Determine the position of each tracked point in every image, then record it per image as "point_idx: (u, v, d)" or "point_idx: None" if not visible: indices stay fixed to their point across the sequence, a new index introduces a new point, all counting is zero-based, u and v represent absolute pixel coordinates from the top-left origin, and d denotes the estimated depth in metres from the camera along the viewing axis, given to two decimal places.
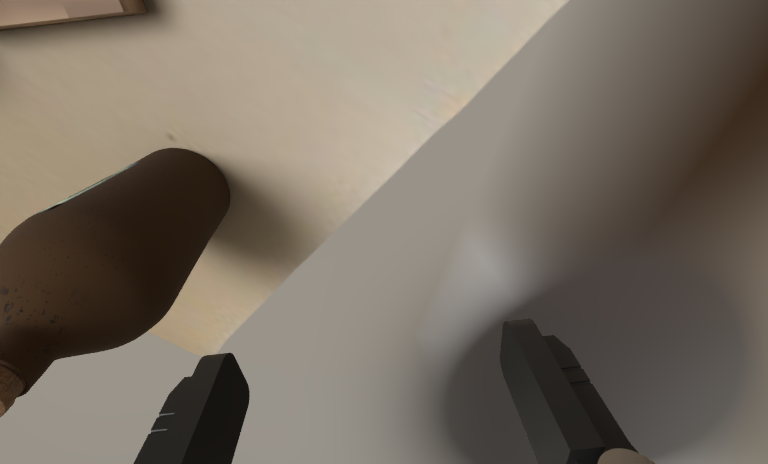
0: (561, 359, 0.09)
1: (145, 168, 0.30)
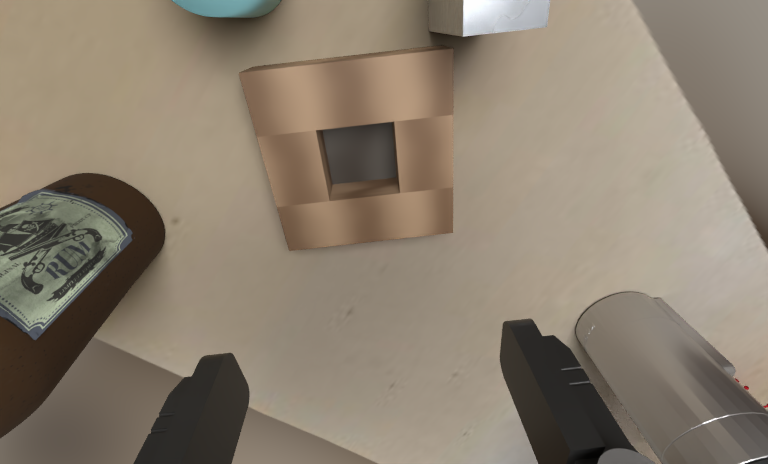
0: (561, 359, 0.09)
1: (127, 269, 0.27)
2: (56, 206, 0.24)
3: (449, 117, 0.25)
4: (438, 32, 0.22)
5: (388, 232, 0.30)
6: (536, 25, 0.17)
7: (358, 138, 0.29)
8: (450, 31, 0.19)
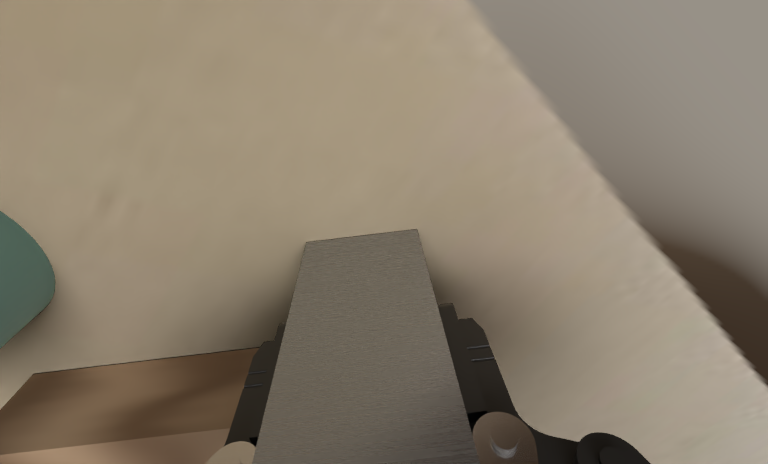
0: (473, 339, 0.10)
1: None
2: None
3: None
4: None
5: None
6: None
7: None
8: None
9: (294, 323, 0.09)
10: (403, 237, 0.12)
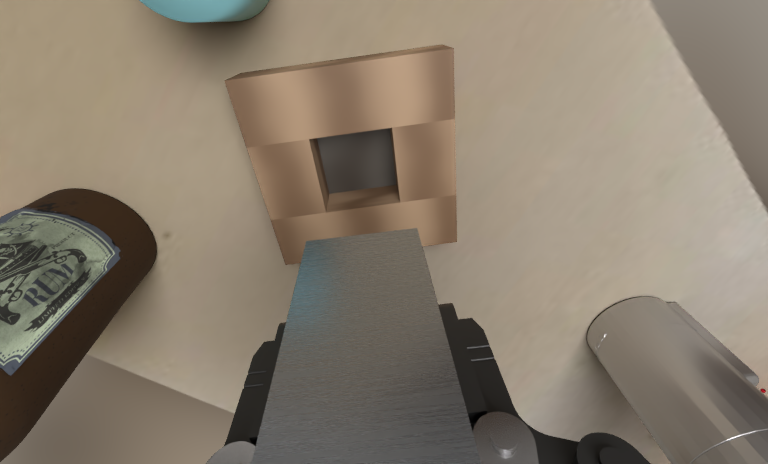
0: (473, 339, 0.10)
1: (115, 289, 0.25)
2: (37, 226, 0.23)
3: (450, 121, 0.24)
4: None
5: None
6: None
7: (355, 145, 0.27)
8: None
9: (294, 321, 0.09)
10: (403, 236, 0.12)
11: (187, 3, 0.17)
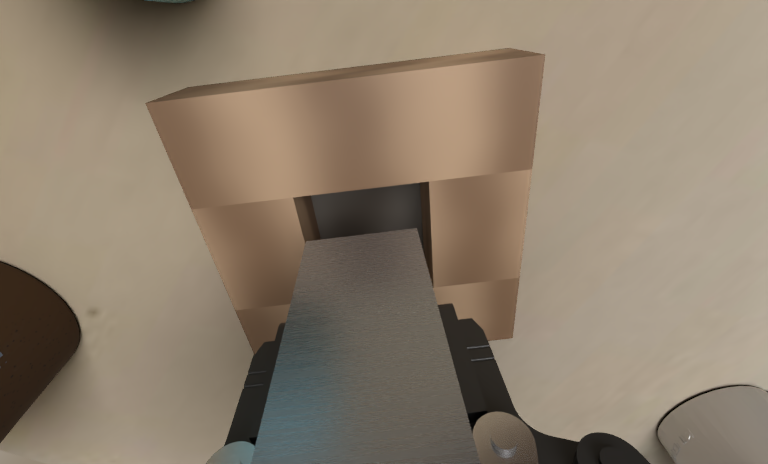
0: (473, 339, 0.10)
1: None
2: None
3: (525, 173, 0.14)
4: None
5: None
6: None
7: (366, 196, 0.18)
8: None
9: (293, 321, 0.09)
10: (403, 236, 0.12)
11: None
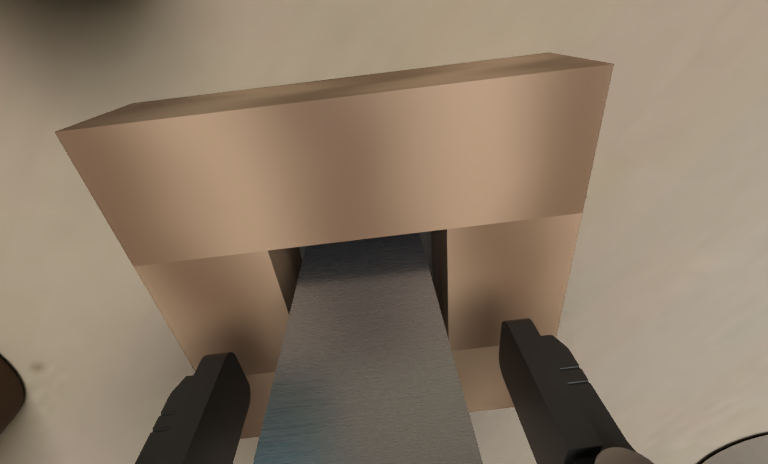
0: (559, 358, 0.09)
1: None
2: None
3: (572, 218, 0.11)
4: None
5: None
6: None
7: None
8: None
9: (304, 279, 0.11)
10: None
11: None
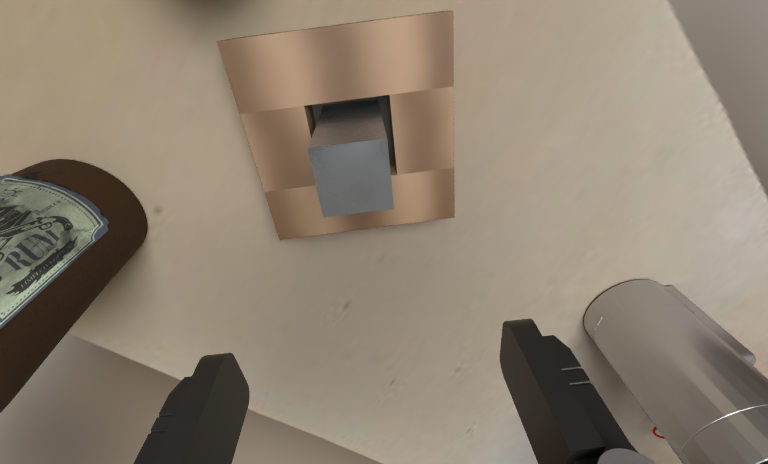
0: (561, 359, 0.09)
1: (103, 261, 0.25)
2: (21, 192, 0.22)
3: (449, 89, 0.23)
4: None
5: (385, 218, 0.28)
6: (384, 208, 0.20)
7: None
8: None
9: (321, 117, 0.23)
10: (370, 100, 0.26)
11: None
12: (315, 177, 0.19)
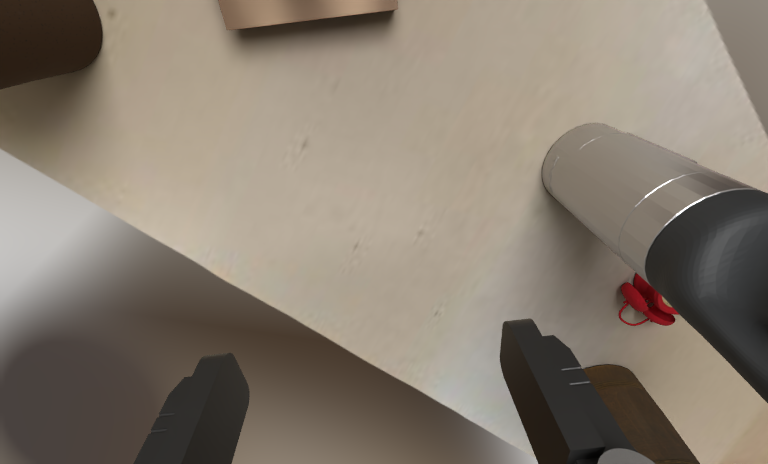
0: (561, 359, 0.09)
1: (47, 21, 0.25)
2: None
3: None
4: None
5: (330, 7, 0.28)
6: None
7: None
8: None
9: None
10: None
11: None
12: None
